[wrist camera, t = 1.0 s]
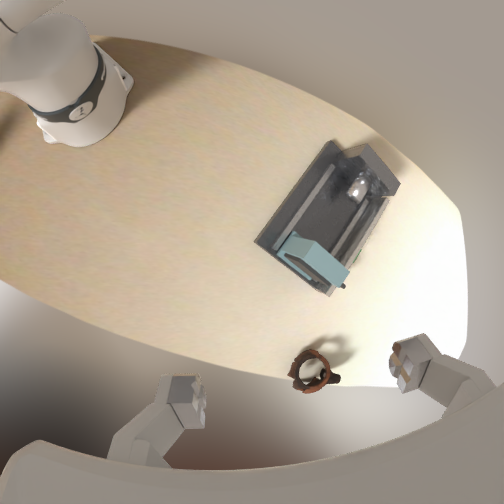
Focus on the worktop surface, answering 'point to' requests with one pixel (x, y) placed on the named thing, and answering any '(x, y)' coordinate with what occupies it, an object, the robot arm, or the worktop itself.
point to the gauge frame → (333, 206)
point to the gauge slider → (312, 261)
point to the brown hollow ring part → (315, 384)
